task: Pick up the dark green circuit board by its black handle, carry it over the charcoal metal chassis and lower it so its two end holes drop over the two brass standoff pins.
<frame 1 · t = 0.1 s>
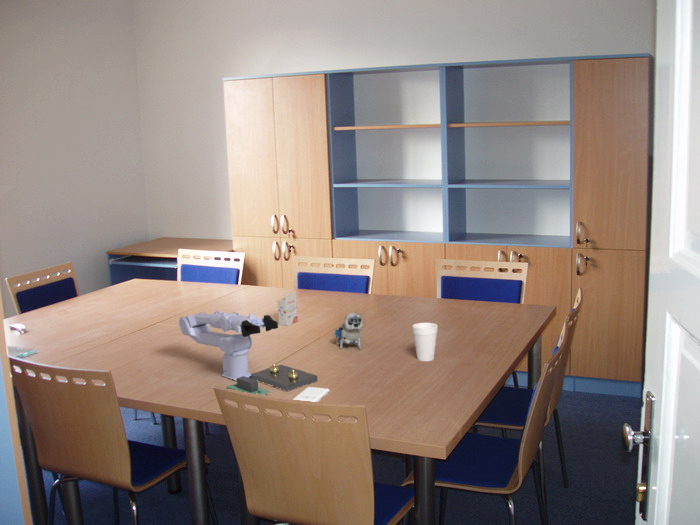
hand: (268, 327, 253), 22 cm above the table, tool horizontal, fingers open, 7 cm apart
chassis: (284, 380, 264), on the table
board: (247, 392, 253), on the table
foam cup: (425, 359, 283), on the table
external hard drive: (311, 398, 247), on the table
robotic toy: (351, 346, 303), on the table
ink cartridge box: (288, 323, 344), on the table
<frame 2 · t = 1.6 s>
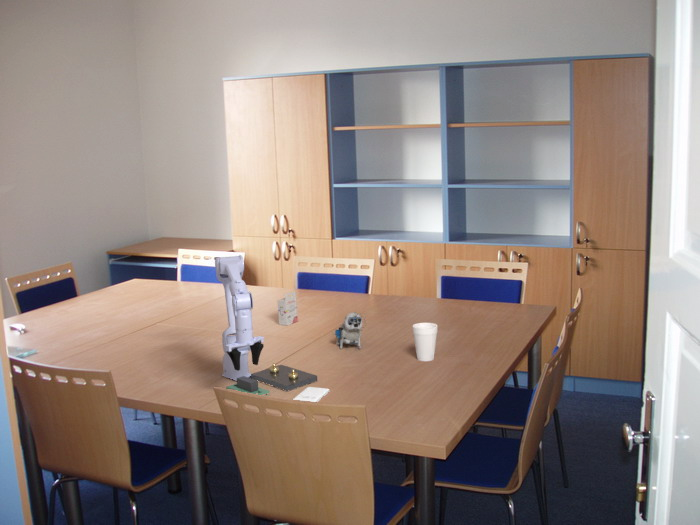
hand: (246, 367, 252), 9 cm above the table, tool pointing down, fingers open, 7 cm apart
nothing on the table moved.
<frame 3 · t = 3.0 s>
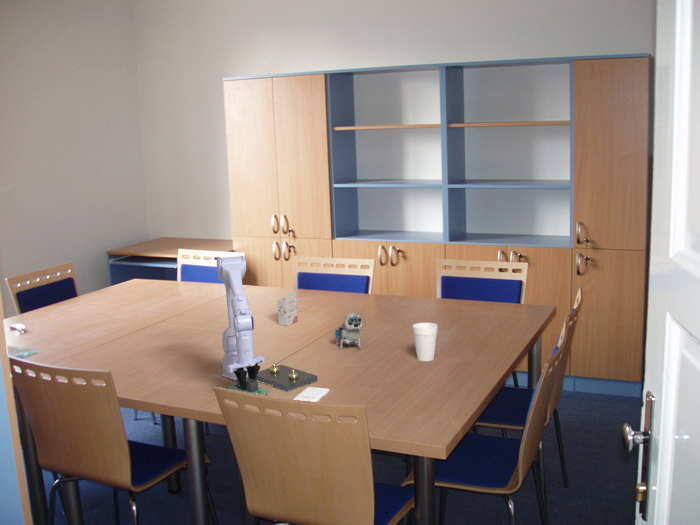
hand: (247, 387, 253), 2 cm above the table, tool pointing down, fingers closed on board, 3 cm apart
board: (247, 392, 253), on the table, touching gripper
everything else where it was.
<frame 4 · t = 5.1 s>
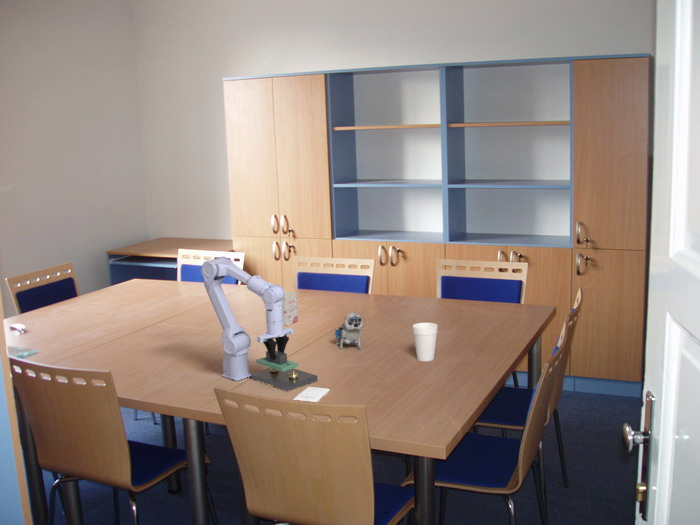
hand: (276, 357, 261), 9 cm above the table, tool pointing down, fingers closed on board, 3 cm apart
board: (276, 364, 261), point 6 cm above the table, touching gripper
everything else where it was.
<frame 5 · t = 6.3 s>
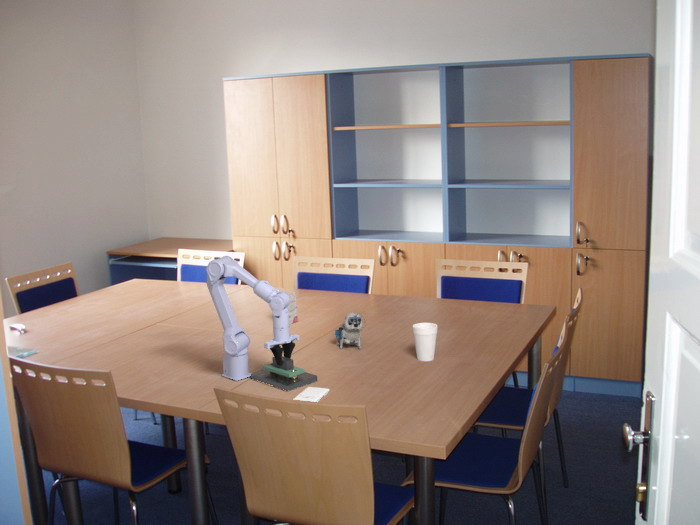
hand: (283, 363, 263), 6 cm above the table, tool pointing down, fingers closed on board, 3 cm apart
board: (283, 370, 264), point 3 cm above the table, touching chassis, gripper
everything else where it was.
when the fingers open (6 cm above the table, at t = 7.0 s): board stays where it is, resting on chassis.
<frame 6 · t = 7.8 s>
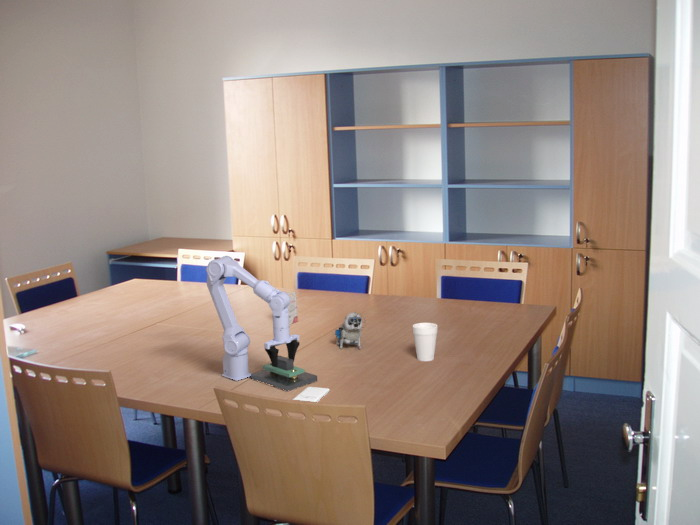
hand: (283, 363, 263), 6 cm above the table, tool pointing down, fingers open, 7 cm apart
board: (283, 370, 264), point 3 cm above the table, touching chassis
everything else where it was.
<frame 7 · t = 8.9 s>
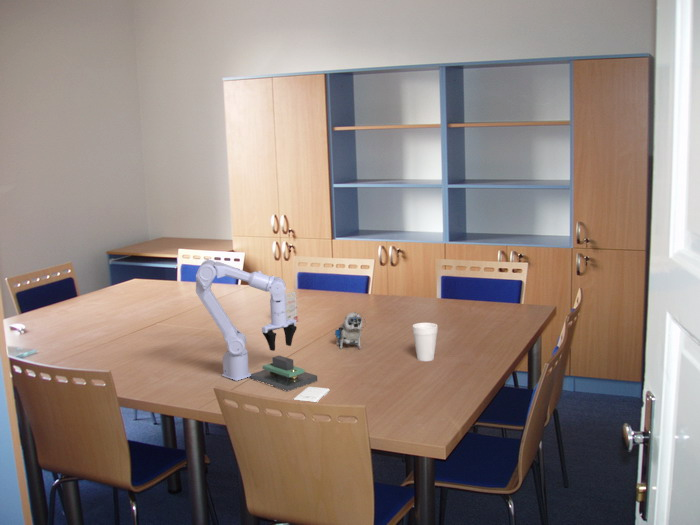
hand: (280, 347, 270), 10 cm above the table, tool pointing down, fingers open, 7 cm apart
nothing on the table moved.
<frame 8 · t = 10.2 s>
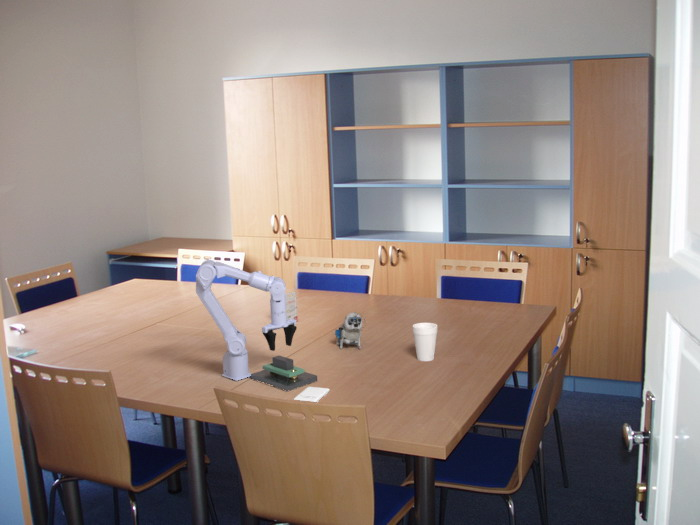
hand: (280, 347, 270), 10 cm above the table, tool pointing down, fingers open, 7 cm apart
nothing on the table moved.
at the end: board 0.2 cm off-centre on the chassis, point 3.5 cm above the chassis's base; board tilted 0°; the gripper is holding nothing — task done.
